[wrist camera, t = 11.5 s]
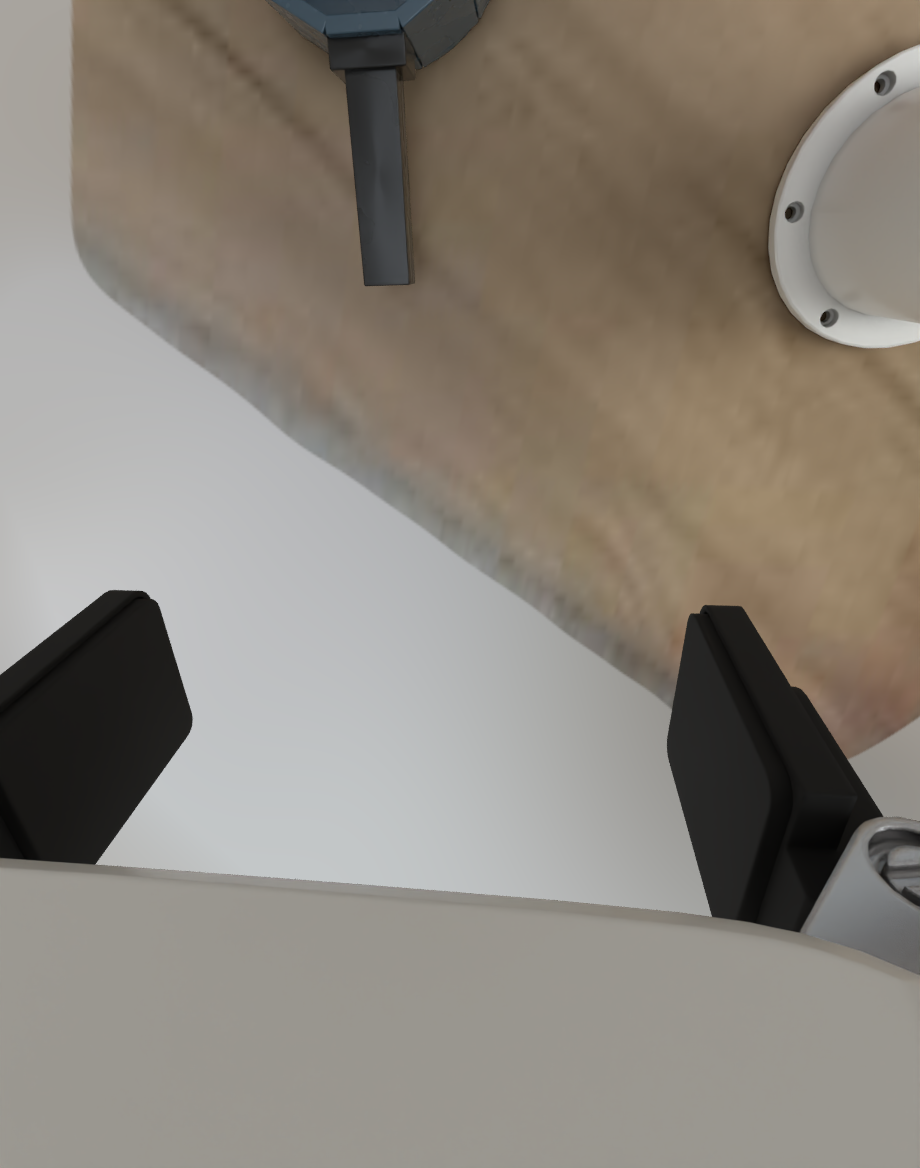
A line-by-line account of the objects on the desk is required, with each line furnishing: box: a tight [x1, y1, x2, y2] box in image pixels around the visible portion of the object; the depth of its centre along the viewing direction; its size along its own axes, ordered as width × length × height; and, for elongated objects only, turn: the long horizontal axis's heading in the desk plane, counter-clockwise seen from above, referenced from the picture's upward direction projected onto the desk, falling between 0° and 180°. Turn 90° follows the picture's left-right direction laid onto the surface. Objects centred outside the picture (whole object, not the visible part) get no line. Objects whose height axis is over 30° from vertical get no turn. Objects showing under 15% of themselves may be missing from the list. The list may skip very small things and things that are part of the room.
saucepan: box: [266, 0, 490, 286], centre depth 26 cm, size 12×21×6 cm, turn 1°
